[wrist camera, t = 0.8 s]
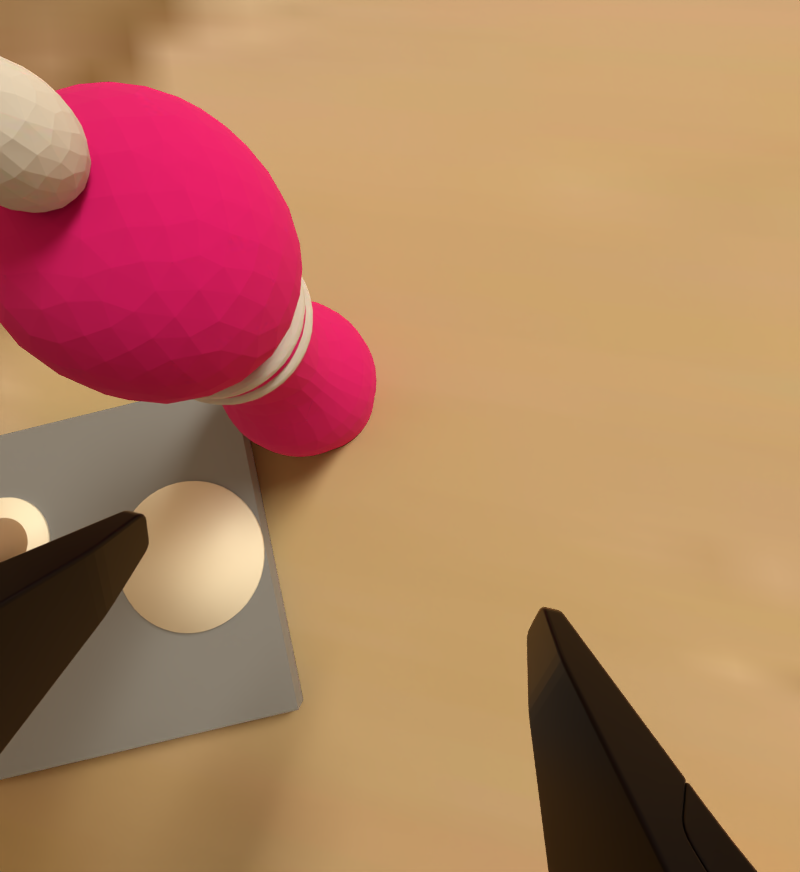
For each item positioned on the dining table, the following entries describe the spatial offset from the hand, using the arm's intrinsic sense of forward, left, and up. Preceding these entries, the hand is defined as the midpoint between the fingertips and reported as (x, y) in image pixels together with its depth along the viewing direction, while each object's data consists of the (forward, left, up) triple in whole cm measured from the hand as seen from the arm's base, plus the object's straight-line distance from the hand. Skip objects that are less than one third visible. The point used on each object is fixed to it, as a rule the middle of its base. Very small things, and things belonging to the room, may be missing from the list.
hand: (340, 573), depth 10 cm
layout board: (-15, 0, -15) cm, 21 cm away
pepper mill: (-2, +7, -15) cm, 17 cm away
